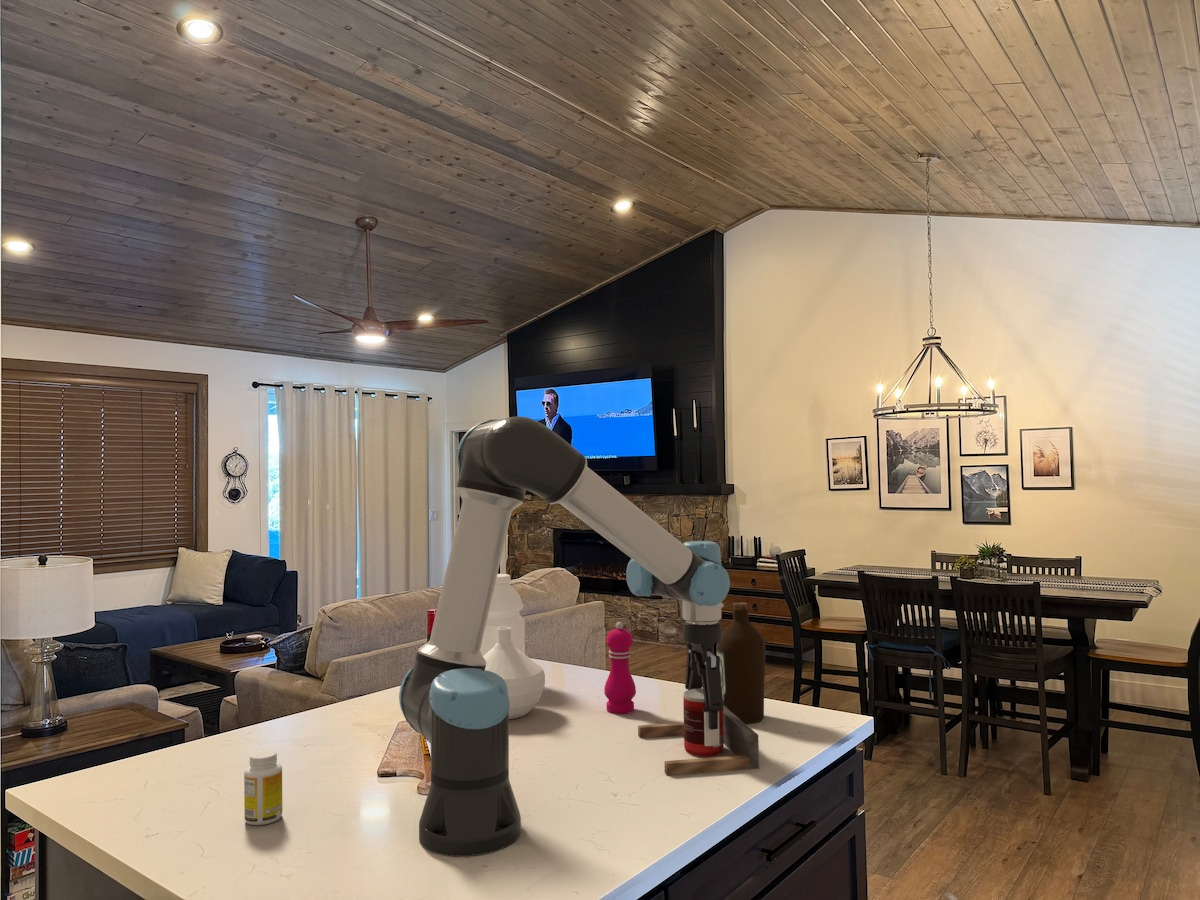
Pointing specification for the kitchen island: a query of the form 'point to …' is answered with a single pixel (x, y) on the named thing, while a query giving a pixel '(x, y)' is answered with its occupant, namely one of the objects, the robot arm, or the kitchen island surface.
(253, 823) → the supplement bottle
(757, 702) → the olive oil
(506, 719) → the robot arm
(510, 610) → the bottle
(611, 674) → the pepper mill
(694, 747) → the canned food
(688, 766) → the guide lane
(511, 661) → the vase
